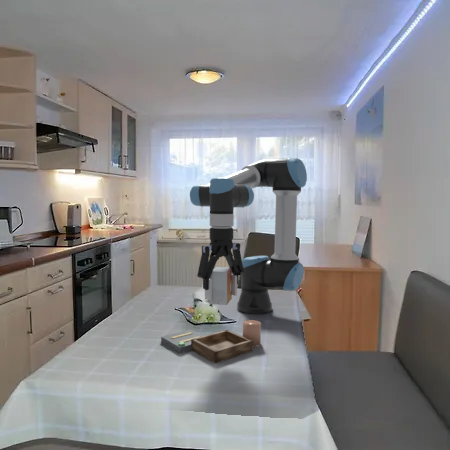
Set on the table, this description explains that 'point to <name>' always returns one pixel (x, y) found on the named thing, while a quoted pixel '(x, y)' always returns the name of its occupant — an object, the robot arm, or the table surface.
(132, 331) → the table surface
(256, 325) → the peach rounded capsule
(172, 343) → the grey square slab
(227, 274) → the small box
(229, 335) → the wooden tray
